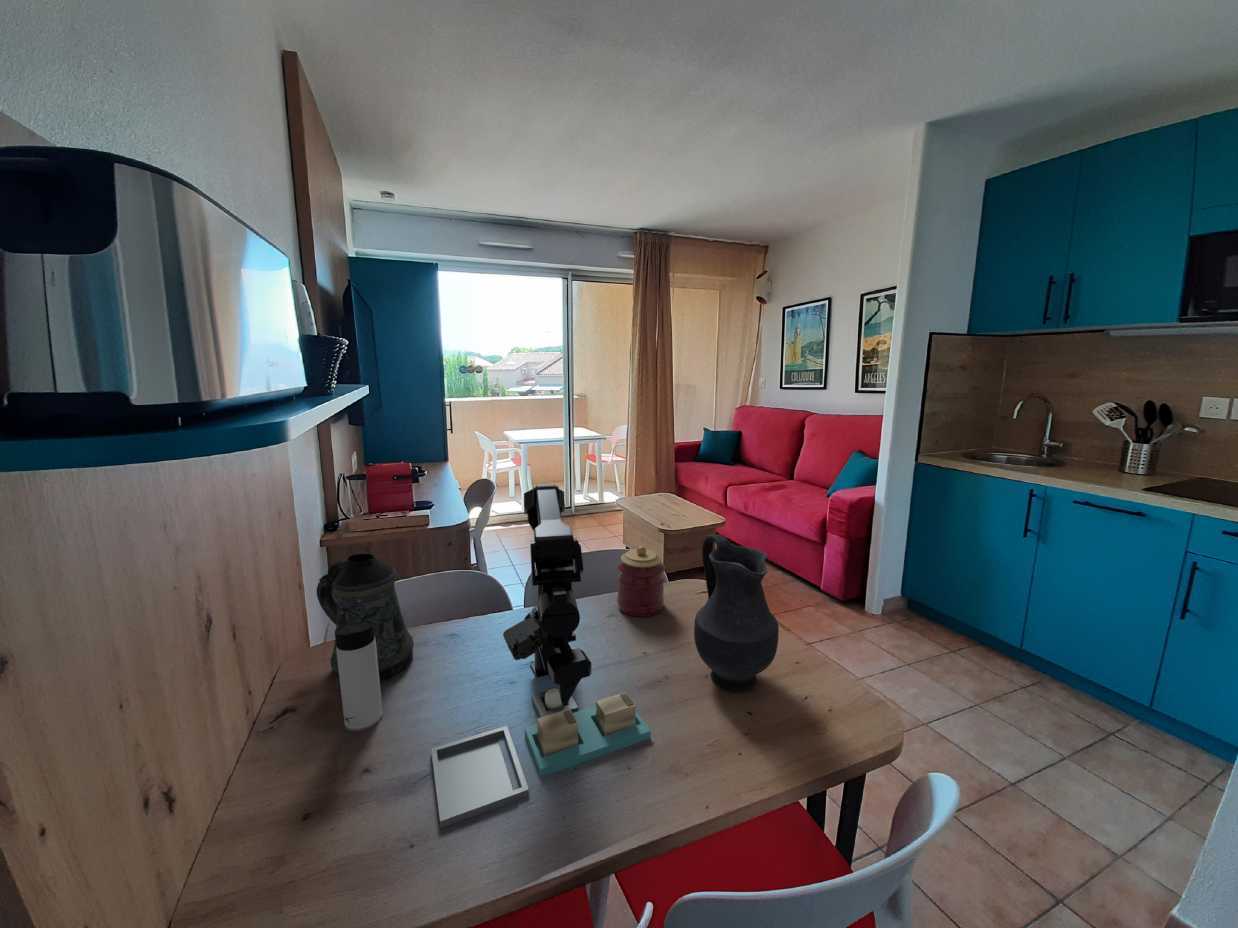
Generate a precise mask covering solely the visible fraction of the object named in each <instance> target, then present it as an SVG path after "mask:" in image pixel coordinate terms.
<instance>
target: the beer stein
mask: <svg viewBox="0 0 1238 928" xmlns="http://www.w3.org/2000/svg"><path fill="white" fill-rule="evenodd" d="M397 572H398V571H397V570H396V569H395V568H394V567H392V565H389V564H387V563H385V562H383V561H379V560H378V559H376V558H375V556H373V554H372V553H356V554H352V555H350V556H348V558H347V560H345V561H344V560H343V561H342V560H341V561H337V562H334V563H333V564H331V565H330V566H329V568H328V569H327V573H326V574H324V575H323V576H322V577H320V578H319V579H318V581H319V582H318V583H317V586H316V597H317V601H318V603H319V605H320V607H321V609H322V611H323V612H324V613H325V615H326V616H327V617H328V619H329V620H330V621H331V622H332V623H333V624H334V625H335V630H336V629H337V628H338V627H340V626H342V625H344V624H347V623H349V624H351V623H354V622H360V621H362V620H369V621H372V622H373V623H374V634H375V641H376V650H377V660H378V671H379V681H380V682H384V681H386V680H389V679H392V678H393V677H395V676H396V675H398V674H400V673H401V672H403V671H405V669H406V668H407V667H408V666H409V665H410V663H411V662H412V661H413V660H414V651H413V648H414V644H415V643H414V639H413V637H412V635H411V634H410V632H409V631H408V627H407V626H406V623H405V620H404V617H403V614H402V609H401V605H400V603H399V599H398V594H397V591H396V588H395V587H396V586H395V583H396V581H397V575H398V573H397ZM333 590H334V592H333ZM334 593H335V594H336V595H337V599H336V597H335V595H334ZM330 656H331V657H330V667H331V670H332V672H333V674H334V677H335V679H336V681H338V682H340V678H339V669H338V661H337V652H336V640H335V639H334V645H333V650H332V653H331V655H330Z"/></svg>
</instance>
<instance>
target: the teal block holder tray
mask: <svg viewBox="0 0 1238 928" xmlns="http://www.w3.org/2000/svg"><path fill="white" fill-rule="evenodd" d="M573 715H574V717H575V719H576V720H577V722H578V746H575V747H572V748H569V749H566V750H563V751H560V752H557V753H554V754H551V755H548V756H545V757H543V756H542V753H541V751H540V748H539V746H538V735H537V723H536V724H531V725H529V726H526V727H524V736H525V739H526V742H527V744H528V747H529V750H530V752H531V754H532V758H533V761H534V764H535V765H536V768H537V771H538V773H539V776H540V778H544V777H546V776H549V775H552V774H554V773H555V774H556V773H557V772H560V771H563V770H566V769H568V768H571V767H574V766H579V765H580V764H582V763H583V764H584V763H585V762H589V761H591V760H594V759H597V758H600V757H603V756H605V755H609V754H611V753H614V752H617V751H619V750H622V749H625V748H628V747H631V746H633V745H637V744H640V743H642V742H644V741H648V740H651V738H652V736H651V735H652V732H651V729H650V728H649V727H648V725H647V723H645V721H644V719H642V717H641V715H639V712H638V711H637V710H636V717H635V726H634V727H631V728H628V729H625V730H622V731H619V732H616V733H613V734H610V735H607V736H604V737H603V736H602V734H601V732H600V731H599V729H598V727H597V726H596V705H594V706H591V707H587V708H584V709H582V710H581V709H580V710H578V711H577V712H574V713H573Z"/></svg>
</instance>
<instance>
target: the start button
mask: <svg viewBox="0 0 1238 928" xmlns="http://www.w3.org/2000/svg"><path fill="white" fill-rule="evenodd" d="M546 691H547V692H546V693H545V703H544V707H545V709H546V711H547V712H548V711H551V710H554V709H558V708H561V707H564V706H565V703H564V704H562V703H561V699H560V694H559V689H555V688H550V689H548V690H546Z"/></svg>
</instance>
